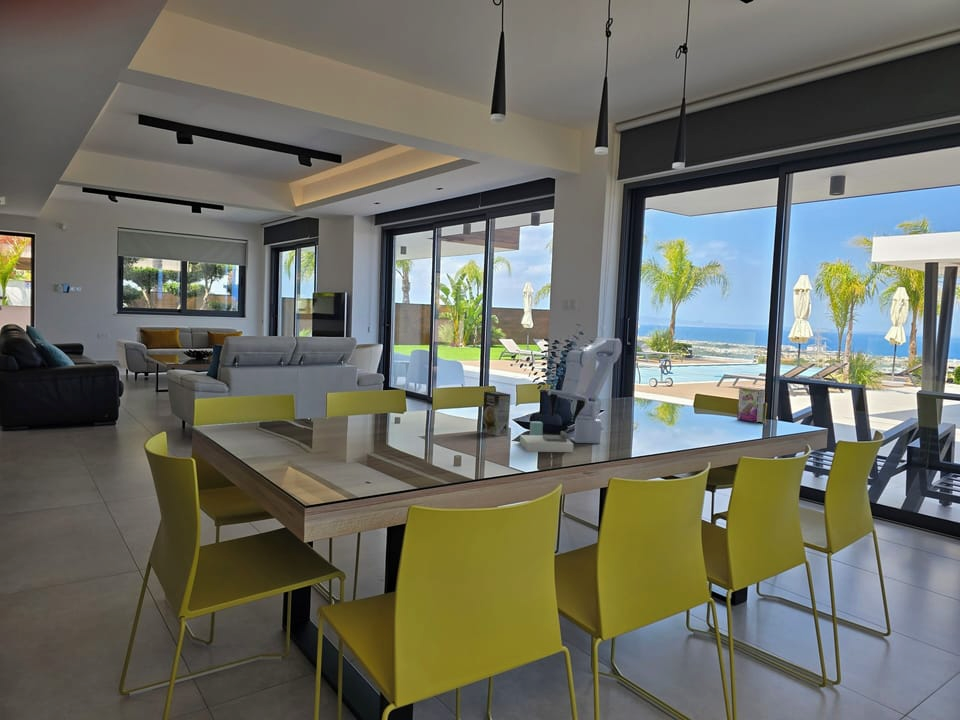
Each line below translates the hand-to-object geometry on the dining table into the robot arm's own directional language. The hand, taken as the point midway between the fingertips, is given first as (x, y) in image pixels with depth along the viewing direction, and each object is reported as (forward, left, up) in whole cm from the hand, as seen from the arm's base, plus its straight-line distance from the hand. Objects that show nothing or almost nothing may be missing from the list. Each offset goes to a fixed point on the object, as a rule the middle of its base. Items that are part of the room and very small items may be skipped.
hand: (563, 418), depth 222 cm
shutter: (+3, 0, -7) cm, 8 cm away
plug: (+6, -15, -11) cm, 19 cm away
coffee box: (+20, -25, -11) cm, 34 cm away
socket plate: (+6, 0, -11) cm, 12 cm away
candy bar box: (-114, -75, -11) cm, 136 cm away
